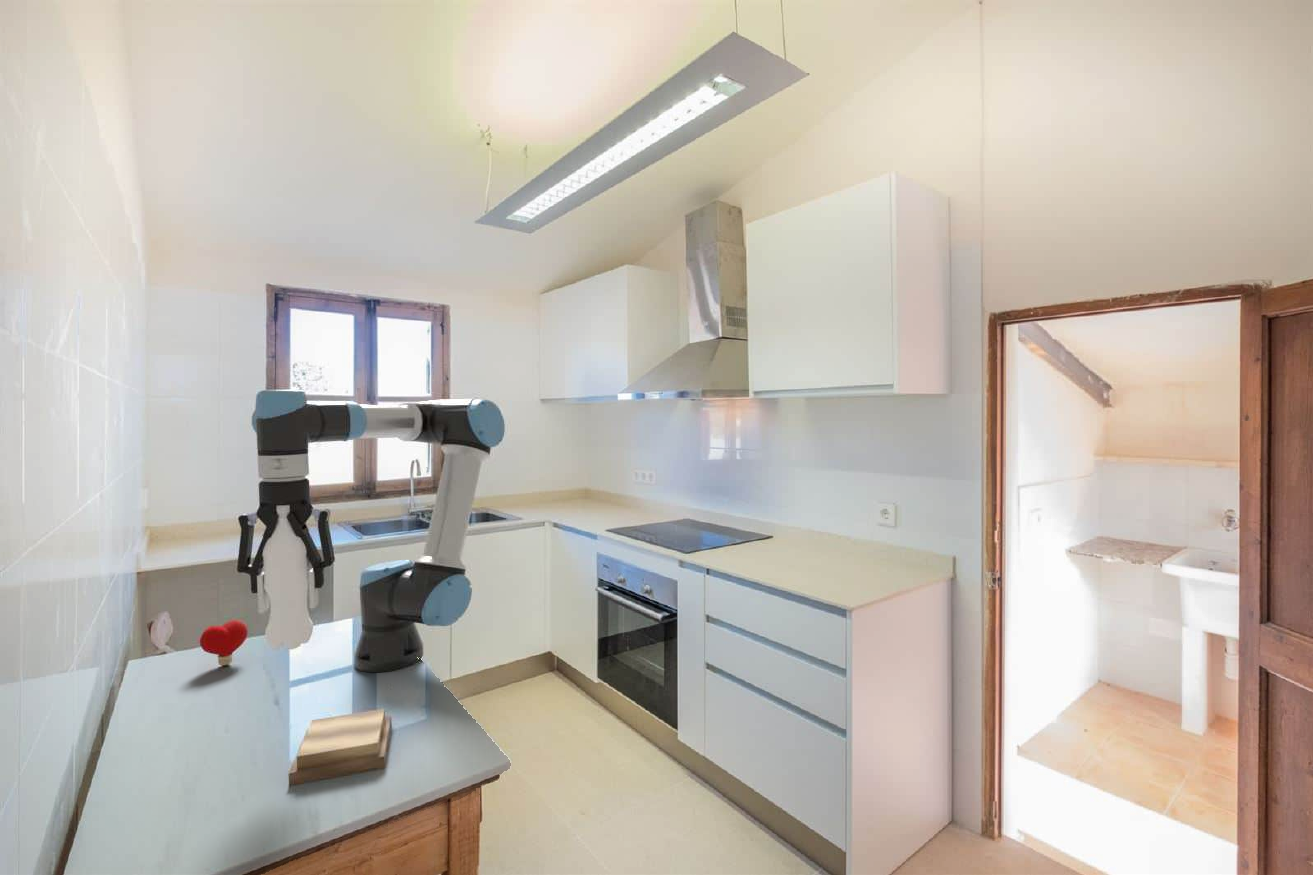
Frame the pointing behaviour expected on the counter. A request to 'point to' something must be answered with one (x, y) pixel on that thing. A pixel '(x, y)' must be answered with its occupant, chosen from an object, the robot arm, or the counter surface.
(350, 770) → the walnut slab
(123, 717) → the counter surface
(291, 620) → the water bottle
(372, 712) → the oak slab
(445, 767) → the counter surface
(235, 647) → the red heart on stem
